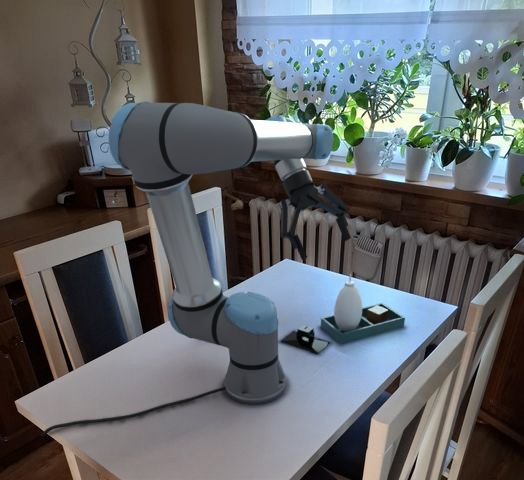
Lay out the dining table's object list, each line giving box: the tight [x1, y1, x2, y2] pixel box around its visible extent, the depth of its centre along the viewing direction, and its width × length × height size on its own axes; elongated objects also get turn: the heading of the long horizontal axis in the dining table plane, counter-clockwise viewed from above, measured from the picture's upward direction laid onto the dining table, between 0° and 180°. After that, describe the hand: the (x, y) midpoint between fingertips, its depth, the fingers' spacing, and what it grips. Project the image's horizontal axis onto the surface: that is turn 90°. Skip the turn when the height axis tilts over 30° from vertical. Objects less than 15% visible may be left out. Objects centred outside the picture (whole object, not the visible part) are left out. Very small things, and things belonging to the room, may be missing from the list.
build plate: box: [280, 324, 331, 355], centre depth 137 cm, size 12×7×5 cm, turn 54°
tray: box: [320, 302, 406, 345], centre depth 143 cm, size 22×11×3 cm, turn 114°
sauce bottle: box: [333, 272, 363, 332], centre depth 138 cm, size 8×8×18 cm
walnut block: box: [367, 305, 389, 325], centre depth 145 cm, size 4×4×4 cm
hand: (326, 249), depth 131 cm, fingers open, 13 cm apart
